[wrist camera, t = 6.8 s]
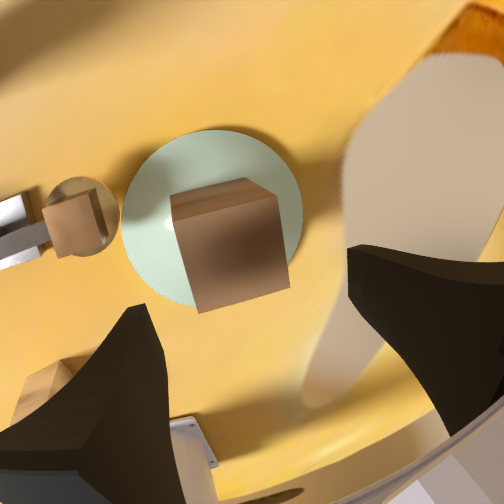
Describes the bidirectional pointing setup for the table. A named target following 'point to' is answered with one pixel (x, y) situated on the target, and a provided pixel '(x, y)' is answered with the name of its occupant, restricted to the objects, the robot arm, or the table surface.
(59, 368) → the maple block
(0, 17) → the table surface
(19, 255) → the balance
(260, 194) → the walnut block
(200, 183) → the dish
